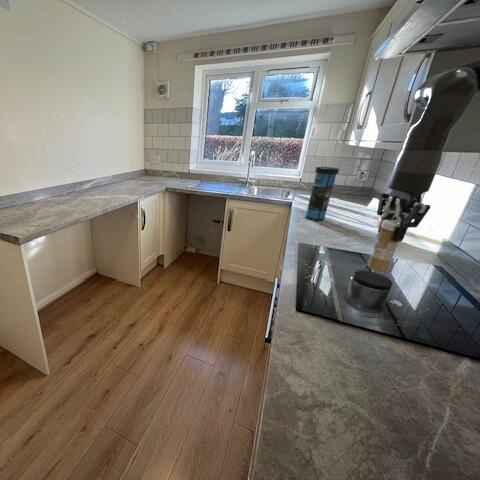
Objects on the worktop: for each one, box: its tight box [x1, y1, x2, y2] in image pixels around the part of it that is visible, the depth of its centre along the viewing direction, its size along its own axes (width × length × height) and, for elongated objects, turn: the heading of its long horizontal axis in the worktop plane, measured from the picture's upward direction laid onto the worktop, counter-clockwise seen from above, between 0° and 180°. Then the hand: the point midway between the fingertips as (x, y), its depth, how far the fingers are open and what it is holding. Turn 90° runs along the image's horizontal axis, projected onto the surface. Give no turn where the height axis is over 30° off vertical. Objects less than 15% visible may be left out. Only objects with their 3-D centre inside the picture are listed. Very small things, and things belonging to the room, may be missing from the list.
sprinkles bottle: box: [366, 220, 399, 272], centre depth 68 cm, size 5×5×14 cm
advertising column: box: [304, 166, 340, 222], centre depth 151 cm, size 11×11×30 cm
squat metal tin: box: [343, 270, 393, 319], centre depth 74 cm, size 9×9×10 cm
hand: (389, 236), depth 67 cm, fingers closed on sprinkles bottle, 4 cm apart
